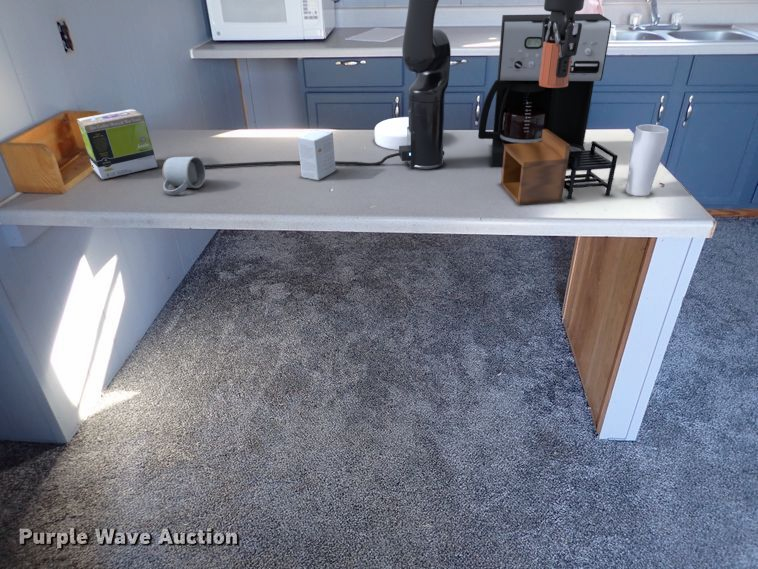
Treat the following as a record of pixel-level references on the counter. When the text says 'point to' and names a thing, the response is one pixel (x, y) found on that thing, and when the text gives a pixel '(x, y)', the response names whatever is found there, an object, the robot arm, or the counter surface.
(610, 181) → the rack
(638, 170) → the drinking glass
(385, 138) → the container
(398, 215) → the counter surface
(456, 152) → the counter surface
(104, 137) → the tea box
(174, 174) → the ceramic mug
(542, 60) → the cup
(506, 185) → the wooden open box
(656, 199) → the counter surface
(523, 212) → the counter surface
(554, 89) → the coffee maker
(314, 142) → the small box
